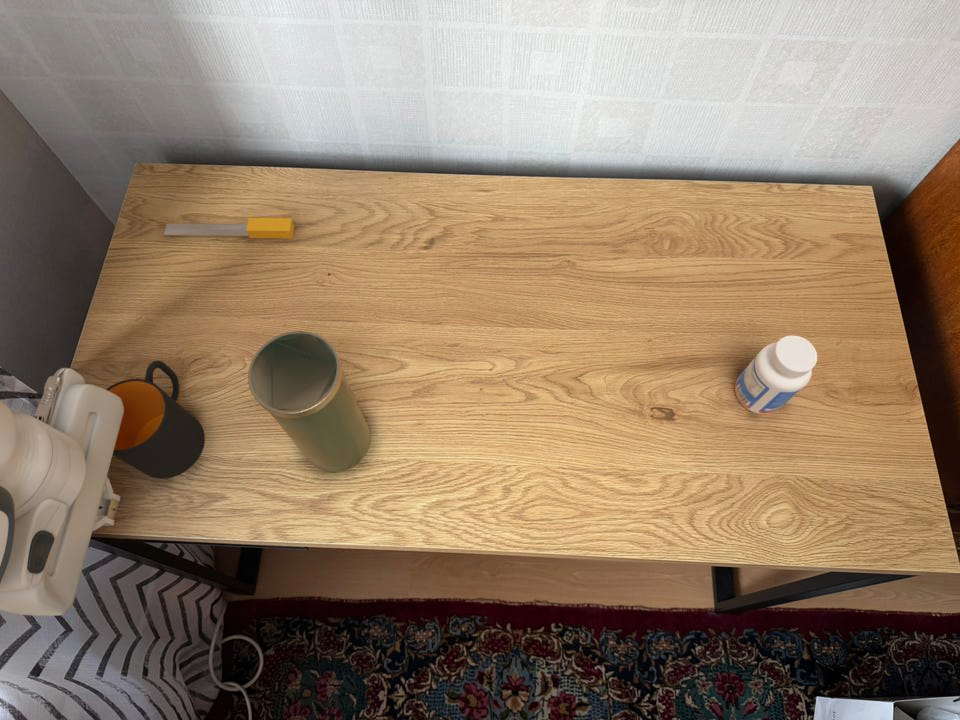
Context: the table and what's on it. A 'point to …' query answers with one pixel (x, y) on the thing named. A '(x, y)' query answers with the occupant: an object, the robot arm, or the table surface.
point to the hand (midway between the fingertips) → (110, 511)
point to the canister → (310, 399)
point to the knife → (235, 229)
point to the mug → (156, 427)
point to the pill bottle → (776, 374)
